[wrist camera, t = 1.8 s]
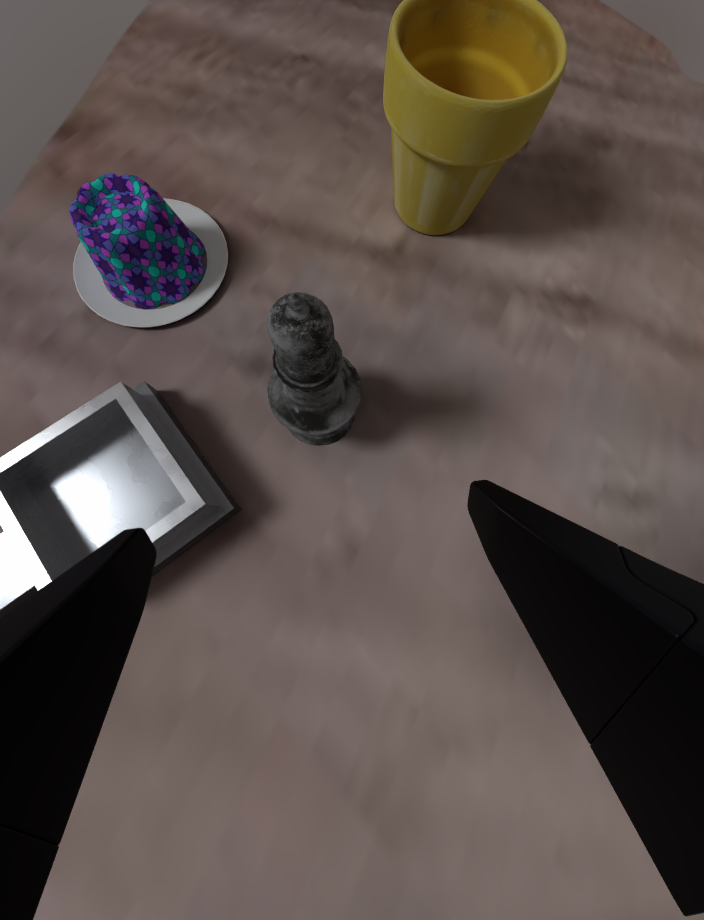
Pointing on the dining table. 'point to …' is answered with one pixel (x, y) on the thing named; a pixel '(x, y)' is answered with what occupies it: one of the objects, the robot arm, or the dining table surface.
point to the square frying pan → (103, 489)
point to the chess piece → (310, 372)
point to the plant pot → (463, 99)
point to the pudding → (143, 252)
